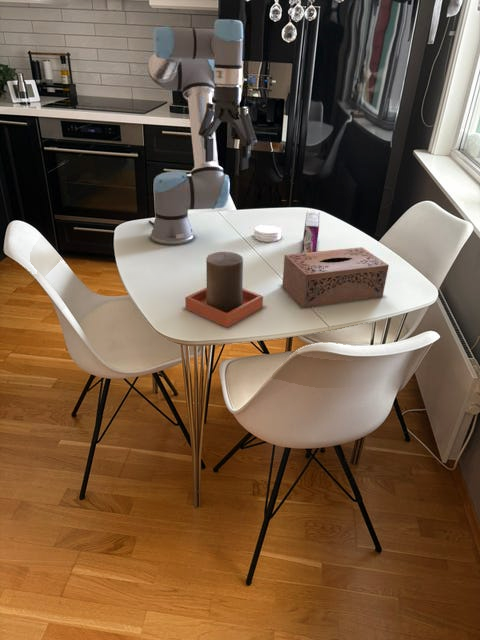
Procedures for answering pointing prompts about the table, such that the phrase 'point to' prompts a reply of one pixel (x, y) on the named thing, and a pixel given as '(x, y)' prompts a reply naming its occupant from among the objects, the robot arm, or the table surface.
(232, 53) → the robot arm
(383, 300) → the table surface
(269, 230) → the coaster
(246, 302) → the holder
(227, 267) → the pillar candle
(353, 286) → the tissue box cover
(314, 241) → the candy bar box
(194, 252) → the table surface
